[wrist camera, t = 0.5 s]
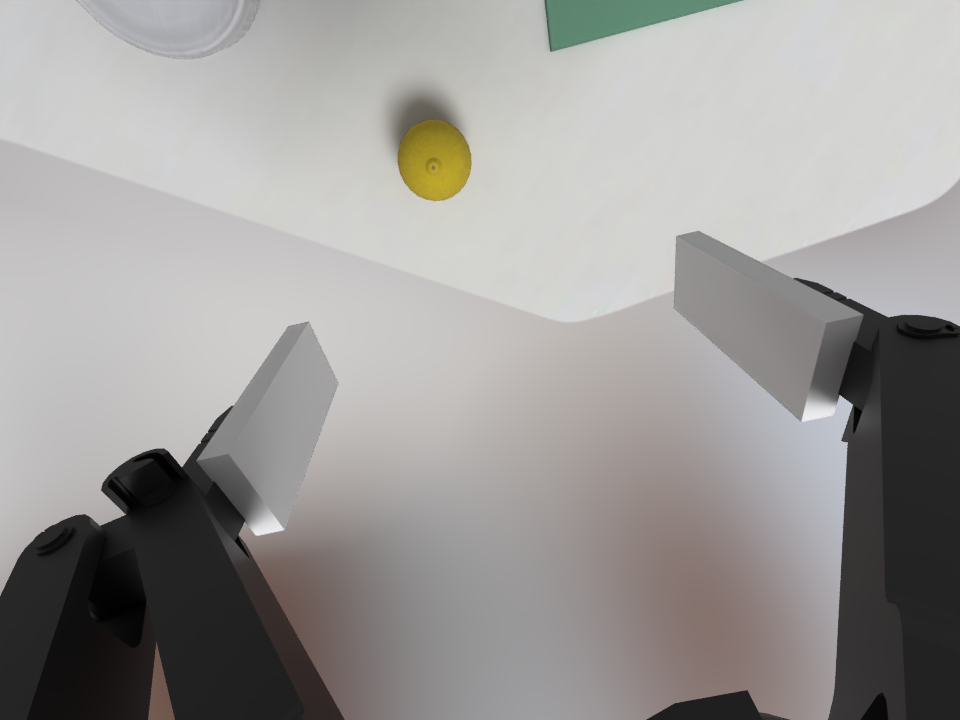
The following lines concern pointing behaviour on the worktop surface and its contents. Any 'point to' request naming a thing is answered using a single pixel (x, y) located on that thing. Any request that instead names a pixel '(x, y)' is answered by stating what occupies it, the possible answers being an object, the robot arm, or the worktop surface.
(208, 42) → the ramekin
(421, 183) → the lemon
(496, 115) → the worktop surface
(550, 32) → the putting mat
